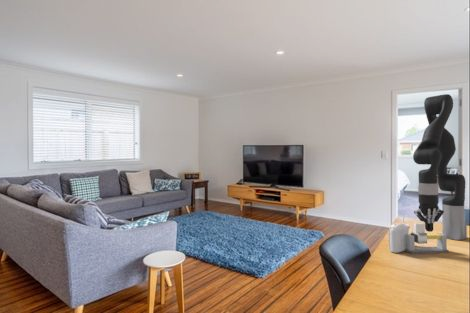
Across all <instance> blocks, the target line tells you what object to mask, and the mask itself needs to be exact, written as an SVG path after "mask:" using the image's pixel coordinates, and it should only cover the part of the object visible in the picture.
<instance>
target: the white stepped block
mask: <svg viewBox="0 0 470 313" xmlns="http://www.w3.org/2000/svg"><path fill="white" fill-rule="evenodd" d="M411 233H414V234H417V235H418V242H415V243H416V244H418V245H419V244H421V245H422V244H428V239H427V235H428V233H427V232H426V229H425V222H415V223H413V230H411Z"/></svg>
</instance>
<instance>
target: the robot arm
mask: <svg viewBox="0 0 470 313" xmlns="http://www.w3.org/2000/svg"><path fill="white" fill-rule="evenodd" d="M423 102H424V103H423V105H424V107H423V108H424V111H425V114H426V115H425V116H426V119H427V122H428V125H427V127H426V128H425V129H424V131H423V135H422V139H421V141H420V143H419V144H418V145H417V147H416V149H415V150H414V152H413V155H412V158H413V161H414V163H415V164H416V165H430V167H429V168H427V169H421V170H419V171H418V186H417V187H418V188H417V190H418V194H417V195H418V197H417V198H418V203H419V206H418V209H416V210H414V211H413V213H414V215H416V217H417V218H418V219H419V221H420V222H422V223H424V224H425V232H426V231H427V232H428V233H430V232H433V231H434V224H435V223H437V222H438V221H439V219H440V218H441V217H442V218H441V219H442V223H441V224H442V225H441V226H442V234H445V235H446V237H447V240H448V239H449V240H456V241H463V240H466V239H467V238H468V235H467V229H468V228H467V220H466V219H465V217H466V216H465V200H466V178H465V176H464V174H460V173H459V174H457V173H448V172H447V171H448V170H447V169H448V168H447V167H448V164H449V162H450V161H451V160H452V158H453V157H454V155H455V154H456V152H457V151H456V150H457V148H456V142H455V138H454V135H453V134H452V133H451V132H450V131H449V130H448V129H447V128H446V127H445V126H446V124H447V123H448V120H449V119H450V116H451V114H452V111H453V110H454V109H453V108H454V99H453V97H452V96H451V95H450V94H445V93H444V94H439V95H434V96H428V97H426V98H425V99H424V101H423ZM437 115H438V116H437ZM439 189H440V191H442V192H450V193H451V192H453V193H454V195H451V196H448V197H445V198H442V199H441V202H442V203H441V209H440V208H439V202H440V201H439V200H440V199H439Z"/></svg>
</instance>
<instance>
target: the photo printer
mask: <svg viewBox="0 0 470 313" xmlns="http://www.w3.org/2000/svg"><path fill="white" fill-rule="evenodd" d="M405 224H406V223H404V224H403V222H401V223H400V222H396V223H393V224H391V226H390V227H389V228H388V242H389V251H390V252H391V253H394V254H398V253H401V252H405V250H406V234H407V227H406V225H405Z"/></svg>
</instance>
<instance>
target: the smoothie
mask: <svg viewBox="0 0 470 313" xmlns="http://www.w3.org/2000/svg"><path fill="white" fill-rule="evenodd" d="M404 216H405V215H404ZM404 216H402V217H401V218H402V224H405V225H406V227H407V234H409V233H410V232H409V231H410V228H411V227H410V225H409V224H407V223H405V217H404Z"/></svg>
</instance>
